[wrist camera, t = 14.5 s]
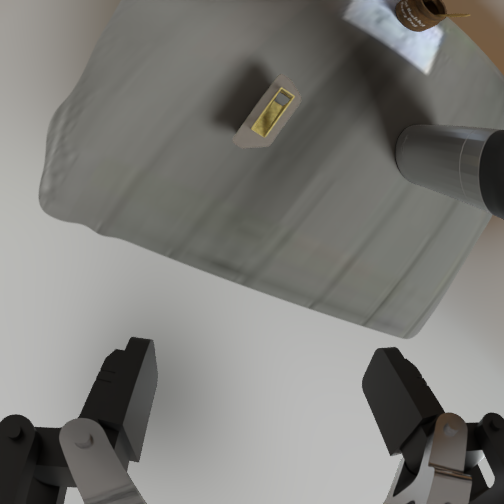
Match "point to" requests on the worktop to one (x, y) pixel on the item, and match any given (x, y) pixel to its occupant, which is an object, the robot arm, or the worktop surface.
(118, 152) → the worktop surface
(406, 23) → the utensil holder
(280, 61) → the worktop surface
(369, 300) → the worktop surface
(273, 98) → the grey flat gold-topped slab
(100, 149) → the worktop surface
